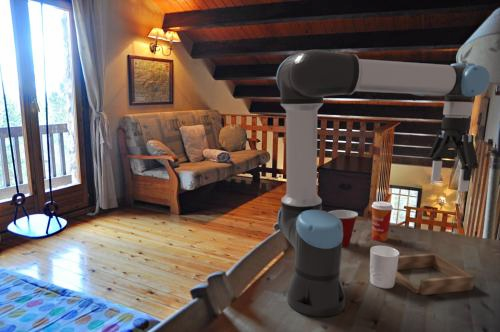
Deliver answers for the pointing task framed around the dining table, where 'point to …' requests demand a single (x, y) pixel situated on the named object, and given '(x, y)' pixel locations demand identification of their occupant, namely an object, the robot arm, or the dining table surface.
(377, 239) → the paper cup
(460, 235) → the dining table surface
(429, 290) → the bay
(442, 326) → the dining table surface
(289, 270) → the dining table surface
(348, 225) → the plastic cup
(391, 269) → the white cup
